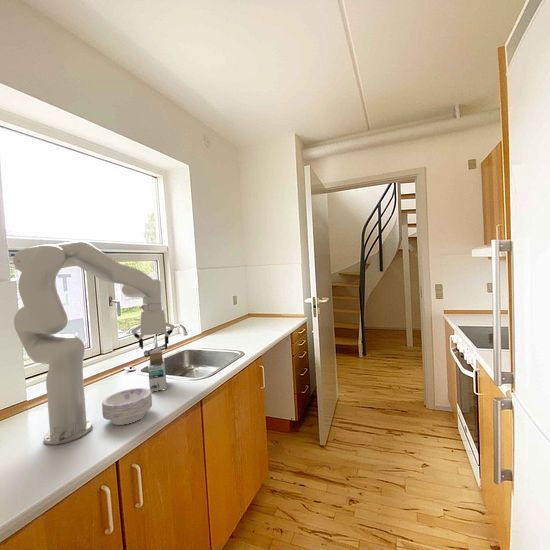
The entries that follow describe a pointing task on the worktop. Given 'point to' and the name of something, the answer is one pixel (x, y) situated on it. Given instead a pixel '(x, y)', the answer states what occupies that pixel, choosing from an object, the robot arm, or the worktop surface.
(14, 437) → the worktop surface
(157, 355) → the walnut cube
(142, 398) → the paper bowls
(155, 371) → the light bulb box
